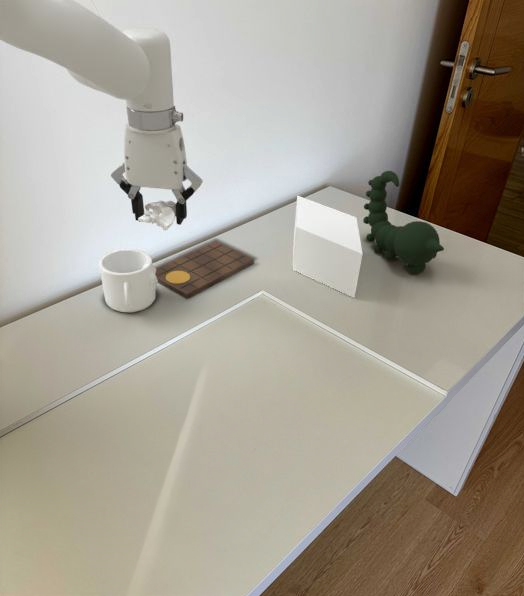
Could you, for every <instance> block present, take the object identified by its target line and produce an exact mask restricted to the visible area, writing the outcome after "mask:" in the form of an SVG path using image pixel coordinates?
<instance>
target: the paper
mask: <svg viewBox="0 0 524 596" xmlns="http://www.w3.org/2000/svg"><path fill="white" fill-rule="evenodd" d="M357 218H358V217H357V216H354V215H351V214H348V213H346V212H343V211H340V210H338V209H335V208H332V207H330V206H326V205H324V204H321V203H319V202H316V201H313V200H311V199H308V198H305V197H302V196H300V195H297V196H296V206H295V216H294V227H293V243H294V244H293V243H292V244H293V245H292V246H293V247H292V266H291V267H292V269H291V270H292V271H294V272H296V271H297V272H296V273H298V272H299V274H300V273H301V275H303V276H305V277H307V278H309V279H311V280H313V279H314V280H313V281H315V282H318V283H320V284H322V283H323V284H322V285H324V284H325V286H326V285H327V286H326V287H328V286H329V288H331V289H333V288H334V289H333V290H335V289H336V290H335V291H337V290H338V291H337V292H339V291H340V292H339V293H341V292H342V293H341V294H344V293H345V294H344V295H346V294H347V295H346V296H348V295H349V297H350V296H351V297H350V298H352V297H353V298H352V299H355V298H356V292H357V286H358V281H359V275H360V270H361V265H362V260H363V259H362V258H363V249H362V243H361V236H360V231H359V224H358V219H357Z"/></svg>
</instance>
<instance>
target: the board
mask: <svg viewBox="0 0 524 596" xmlns="http://www.w3.org/2000/svg"><path fill="white" fill-rule="evenodd" d="M254 264H255V258H253V257H251V256H249V255H247V254H245V253H243V252H241V251H239V250H237V249H234V248H232V247H231V246H228V245H226V244H224V243H222V242H220V241H218V240H214V241H212V242H210V243H207V244H205V245H203V246H201V247H198V248H197V249H195V250H193V251H190V252H188V253H186V254H184V255H182V256H179V257H177V258H175V259H173V260H171V261H169V262H167V263H164V264H162V265H160V266H158V267H155V268H156V273H155V275H156V277H157V280H158V282H157V284H160V285H162V286H163V287H165V288H167V289H169V290H170V291H173V292H174V293H176V294H177V295H178V296H181V297H183V298H184V299H186V300H189V299H190V298H192V297H194V296H196V295H198V294H200V293H201V292H203V291H205V290H207V289H209V288H211V287H213V286H215V285H216V284H218V283H221V282H222V281H224V280H225V279H228V278H230V277H232V276H233V275H235V274H237V273H239V272H241V271H243V270H244V269H246V268H248V267H250V266H252V265H254Z"/></svg>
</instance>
